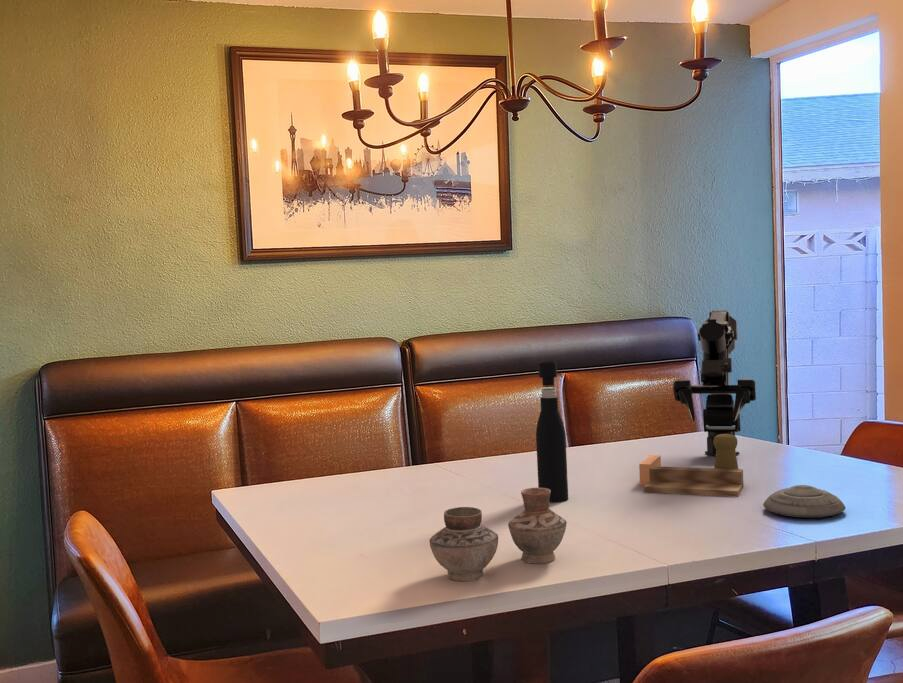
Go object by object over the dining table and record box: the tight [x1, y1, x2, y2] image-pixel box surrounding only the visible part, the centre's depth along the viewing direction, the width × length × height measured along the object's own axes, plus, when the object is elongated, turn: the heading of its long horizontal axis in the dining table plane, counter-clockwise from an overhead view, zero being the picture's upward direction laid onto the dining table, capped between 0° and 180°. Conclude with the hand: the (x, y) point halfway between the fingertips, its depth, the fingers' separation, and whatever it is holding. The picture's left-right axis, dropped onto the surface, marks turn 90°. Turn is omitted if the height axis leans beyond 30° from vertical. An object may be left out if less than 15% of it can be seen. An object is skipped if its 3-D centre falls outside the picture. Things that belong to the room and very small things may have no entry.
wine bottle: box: [535, 360, 569, 504], centre depth 197 cm, size 6×6×30 cm
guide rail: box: [638, 454, 745, 498], centre depth 204 cm, size 22×17×5 cm
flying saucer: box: [762, 484, 846, 519], centre depth 177 cm, size 15×15×6 cm
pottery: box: [428, 487, 568, 582], centre depth 151 cm, size 11×25×12 cm, turn 120°
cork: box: [713, 434, 739, 469], centre depth 205 cm, size 6×6×11 cm
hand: (713, 420), depth 212 cm, fingers open, 9 cm apart
